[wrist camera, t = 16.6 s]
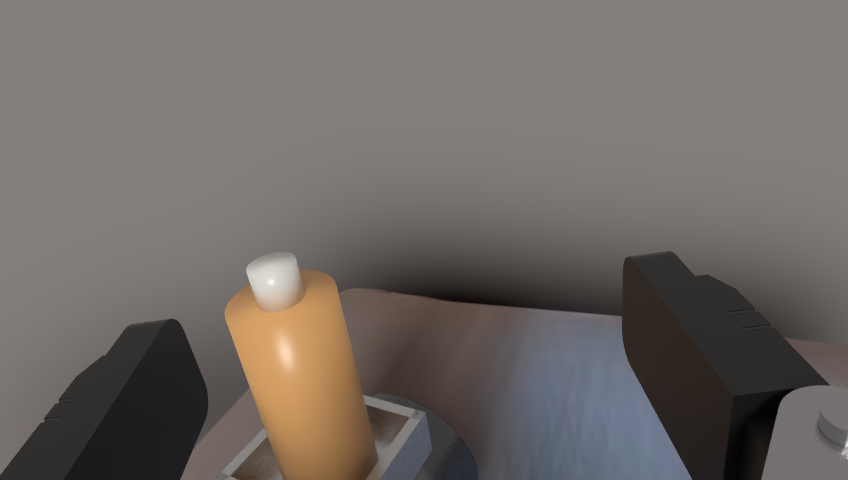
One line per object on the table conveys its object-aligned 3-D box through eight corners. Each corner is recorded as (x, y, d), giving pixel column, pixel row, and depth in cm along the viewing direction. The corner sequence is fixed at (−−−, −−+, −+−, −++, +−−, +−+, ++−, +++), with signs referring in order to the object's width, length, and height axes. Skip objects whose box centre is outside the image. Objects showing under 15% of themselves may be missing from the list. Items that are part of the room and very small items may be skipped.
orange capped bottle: (321, 421, 38) (265, 232, 32) (394, 444, 35) (350, 243, 29) (265, 489, 34) (187, 286, 27) (343, 520, 31) (278, 304, 25)
